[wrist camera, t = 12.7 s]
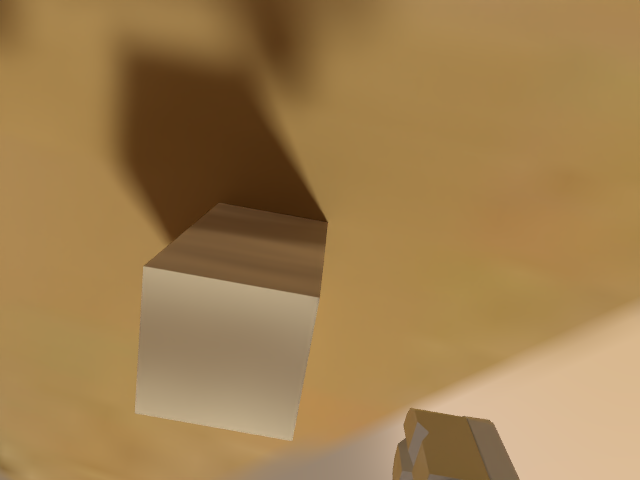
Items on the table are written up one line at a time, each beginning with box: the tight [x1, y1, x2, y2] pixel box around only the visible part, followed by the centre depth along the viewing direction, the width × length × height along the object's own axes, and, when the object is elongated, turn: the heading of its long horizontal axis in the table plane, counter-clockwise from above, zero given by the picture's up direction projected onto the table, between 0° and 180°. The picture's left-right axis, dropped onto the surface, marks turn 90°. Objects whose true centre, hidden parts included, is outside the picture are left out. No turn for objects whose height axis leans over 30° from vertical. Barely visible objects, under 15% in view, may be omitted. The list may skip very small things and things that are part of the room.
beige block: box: [135, 203, 328, 441], centre depth 14 cm, size 4×4×6 cm
